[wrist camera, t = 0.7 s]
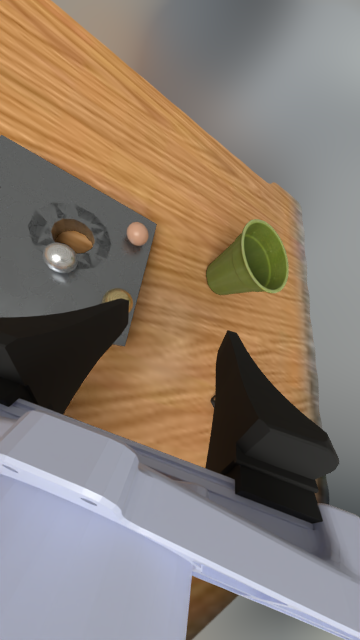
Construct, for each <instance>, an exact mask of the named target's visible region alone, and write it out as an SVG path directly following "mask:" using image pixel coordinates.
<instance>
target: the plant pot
mask: <svg viewBox="0 0 360 640" xmlns="http://www.w3.org/2000/svg"><path fill="white" fill-rule="evenodd" d="M206 277H207V280H208V285H209V287H210V288H211V290H212V291H213V292H215V293H216V294H219V295H227V294H235V293H244V292H252V291H255V292H262V291H265V292H268V293H277V292H279V291H280V290H282V289H283V287H284V286H285V284H286V282H287V278H288V260H287V255H286V251H285V248H284V246H283V243H282V241H281V239H280V237H279V236H278V234H277V233H276V231H275V230H274V229H273V228H272V227H271V226H270V225H269V224H268V223H266V222H265V221H262V220H259V219H255V220H251V221H249V222H248V223H247V224H246V226H245V227H244V229H243V232H242V233H241V234H240V235H239V236H238V237H237V238H236V240H235V241H234V242H233V243H232V244H231V245H230V246H229V247H228V248H227V249H226V250H225V251H224V252H223V253H222V254H221V255H219V256H218V257H217V258H216V259H215V260H214V261H213V262H212V263H211V264H210V265H209V266H208V268H207V271H206Z"/></svg>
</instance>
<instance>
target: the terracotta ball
mask: <svg viewBox="0 0 360 640" xmlns="http://www.w3.org/2000/svg"><path fill="white" fill-rule="evenodd" d="M127 237H128V239H129V241H130V242H131V243H132V244H134V245H136V246H141V245H144V244H145V243H146V242H147V240H148V230H147V228H146V227H145V226H144V225H143V224H142V223H139V222H133V223H131V224H130V225H129V226H128V228H127Z"/></svg>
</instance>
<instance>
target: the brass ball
mask: <svg viewBox="0 0 360 640" xmlns="http://www.w3.org/2000/svg"><path fill="white" fill-rule="evenodd" d="M120 298H122V299H126V300H129V312H130V311H131V309H132V307H133V299H132V297H131V295H130V294H129V293H128V292H127V291H126V290H124V289H121V288H113V289H110V290H109V291H107V292H106V293H105V295H104V296H103V299H102V303H105V302H109V301H112V300H116V299H120Z"/></svg>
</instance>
